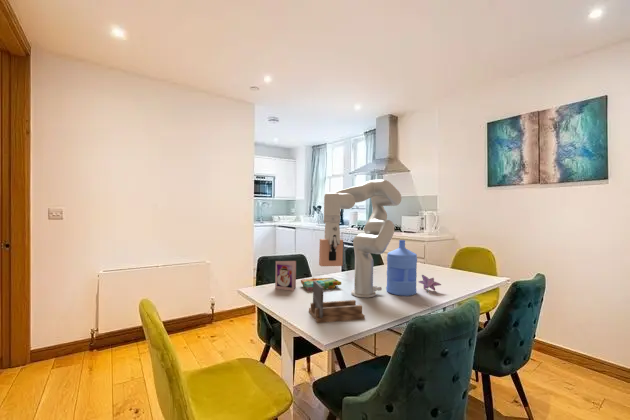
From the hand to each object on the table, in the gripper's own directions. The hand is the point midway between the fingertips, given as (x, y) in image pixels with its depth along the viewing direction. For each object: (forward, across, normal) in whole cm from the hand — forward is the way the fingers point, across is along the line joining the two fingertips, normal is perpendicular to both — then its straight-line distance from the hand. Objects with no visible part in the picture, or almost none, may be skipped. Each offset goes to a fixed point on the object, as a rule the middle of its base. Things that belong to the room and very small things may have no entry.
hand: (330, 259), depth 143 cm
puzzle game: (+22, +32, -4) cm, 39 cm away
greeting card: (+22, +34, +15) cm, 43 cm away
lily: (+21, +14, -61) cm, 66 cm away
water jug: (+21, +15, -44) cm, 52 cm away
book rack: (+22, -12, +1) cm, 25 cm away
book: (+3, 0, 0) cm, 3 cm away
